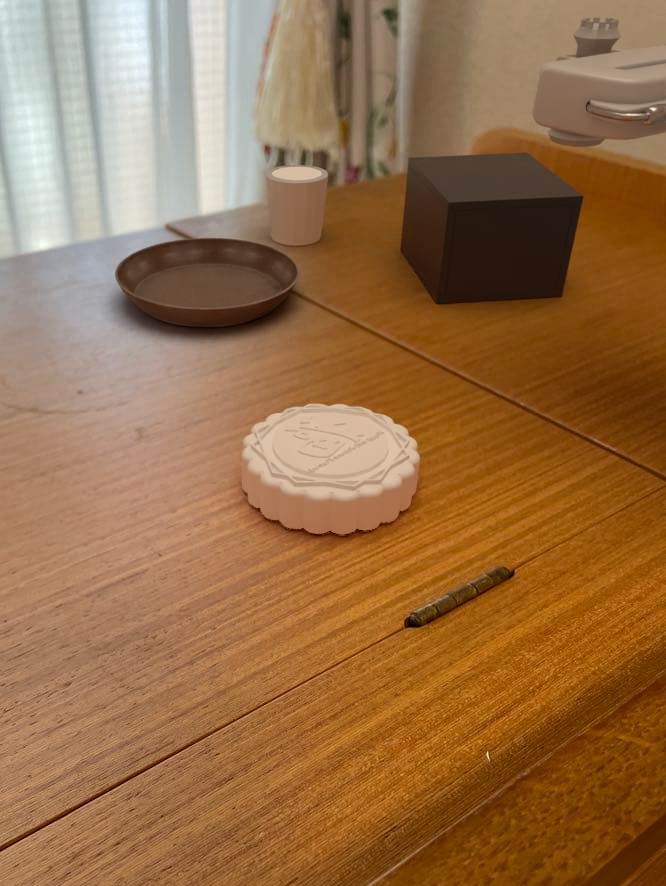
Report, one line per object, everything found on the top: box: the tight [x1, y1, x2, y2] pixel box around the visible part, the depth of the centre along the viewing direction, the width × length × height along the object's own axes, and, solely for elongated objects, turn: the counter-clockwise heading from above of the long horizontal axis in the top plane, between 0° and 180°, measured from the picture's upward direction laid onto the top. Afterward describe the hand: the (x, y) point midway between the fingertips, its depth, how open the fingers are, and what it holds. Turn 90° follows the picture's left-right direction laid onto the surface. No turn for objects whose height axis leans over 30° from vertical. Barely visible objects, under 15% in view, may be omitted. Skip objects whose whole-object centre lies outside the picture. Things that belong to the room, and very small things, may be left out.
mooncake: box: [240, 403, 421, 534], centre depth 59 cm, size 12×12×4 cm
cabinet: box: [399, 152, 585, 305], centre depth 87 cm, size 15×13×10 cm
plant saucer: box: [114, 237, 301, 328], centre depth 84 cm, size 18×18×3 cm
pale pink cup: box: [265, 164, 329, 247], centre depth 97 cm, size 7×7×7 cm
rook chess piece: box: [547, 16, 622, 148], centre depth 64 cm, size 4×4×8 cm
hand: (581, 65), depth 64 cm, fingers closed on rook chess piece, 3 cm apart
